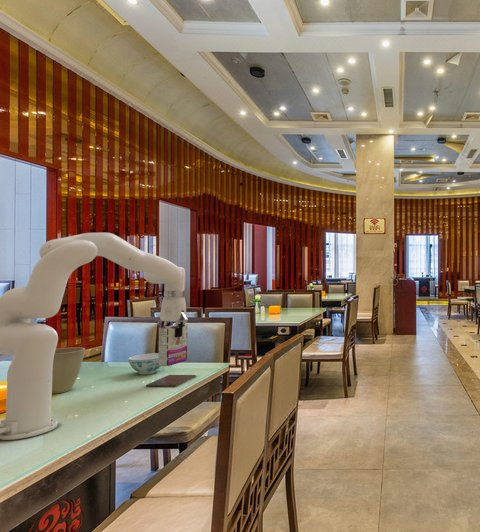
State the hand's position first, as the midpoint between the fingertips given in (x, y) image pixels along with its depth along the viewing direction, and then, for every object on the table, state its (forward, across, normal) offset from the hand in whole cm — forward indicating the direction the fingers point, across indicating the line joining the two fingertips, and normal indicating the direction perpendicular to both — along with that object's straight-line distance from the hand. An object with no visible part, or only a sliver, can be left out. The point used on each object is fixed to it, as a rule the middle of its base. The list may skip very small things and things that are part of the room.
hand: (173, 336), depth 162 cm
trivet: (+20, 0, 0) cm, 20 cm away
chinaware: (+20, -24, +7) cm, 32 cm away
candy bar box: (+12, 0, 0) cm, 12 cm away
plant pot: (+20, -30, -25) cm, 44 cm away
